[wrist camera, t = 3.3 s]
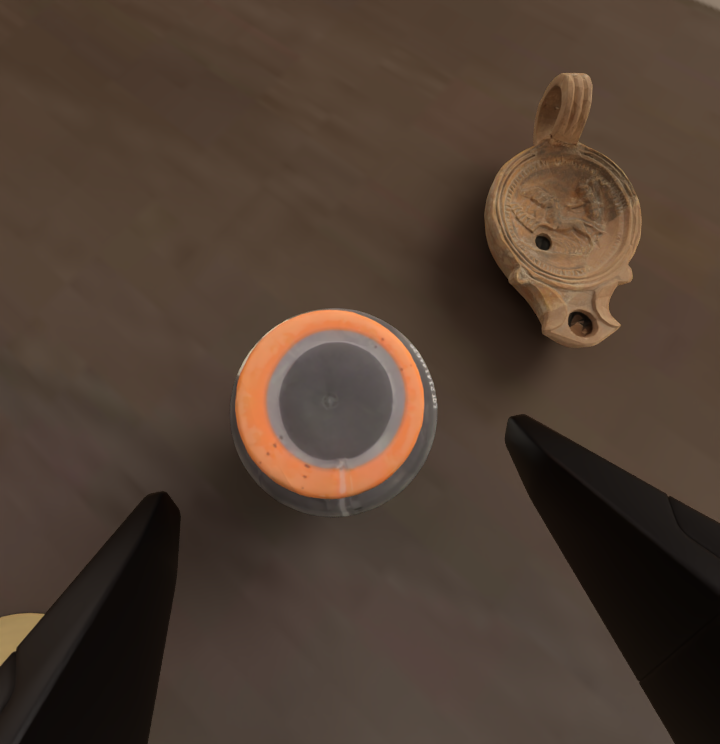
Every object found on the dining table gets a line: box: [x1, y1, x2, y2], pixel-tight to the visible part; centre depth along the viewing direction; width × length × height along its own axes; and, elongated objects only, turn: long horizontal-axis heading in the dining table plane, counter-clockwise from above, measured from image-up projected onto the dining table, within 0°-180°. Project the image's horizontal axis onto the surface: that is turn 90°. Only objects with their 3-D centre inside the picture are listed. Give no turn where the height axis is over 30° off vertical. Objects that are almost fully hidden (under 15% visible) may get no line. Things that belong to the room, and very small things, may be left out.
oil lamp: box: [484, 73, 642, 348], centre depth 18 cm, size 13×8×5 cm, turn 179°
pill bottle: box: [230, 308, 437, 517], centre depth 13 cm, size 6×6×11 cm
